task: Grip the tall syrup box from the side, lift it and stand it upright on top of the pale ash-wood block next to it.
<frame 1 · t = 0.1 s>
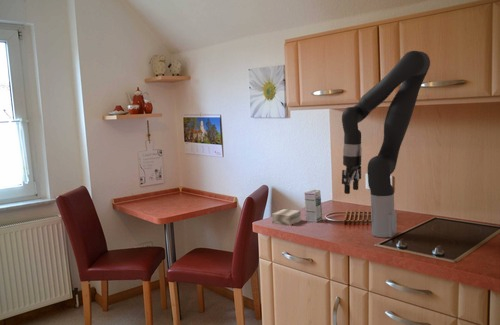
hand: (351, 191, 191), 17 cm above the worktop, tool pointing down, fingers open, 8 cm apart
syrup box: (314, 220, 214), on the worktop
ash block: (286, 222, 215), on the worktop
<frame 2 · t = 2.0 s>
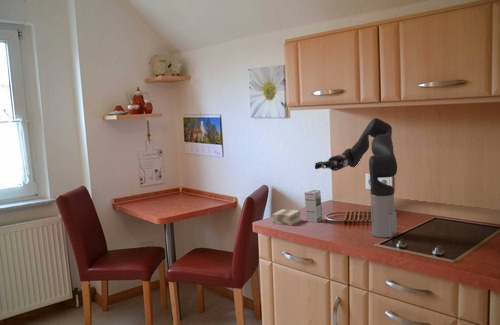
hand: (323, 167, 220), 24 cm above the worktop, tool horizontal, fingers open, 8 cm apart
nothing on the worktop moved.
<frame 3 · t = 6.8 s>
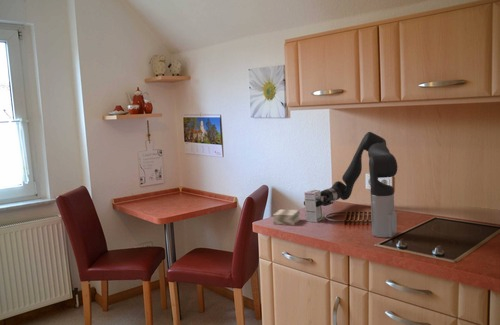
hand: (310, 204, 211), 9 cm above the worktop, tool horizontal, fingers closed on syrup box, 6 cm apart
syrup box: (314, 220, 214), on the worktop, touching gripper
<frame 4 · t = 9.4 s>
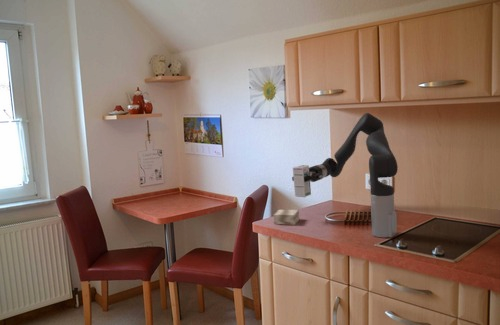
hand: (299, 179, 210), 21 cm above the worktop, tool horizontal, fingers closed on syrup box, 6 cm apart
syrup box: (302, 196, 213), point 12 cm above the worktop, touching gripper
when the fingers open (15 cm above the worktop, at t = 11.9 s): syrup box drops 1 cm, point 4 cm above the worktop.
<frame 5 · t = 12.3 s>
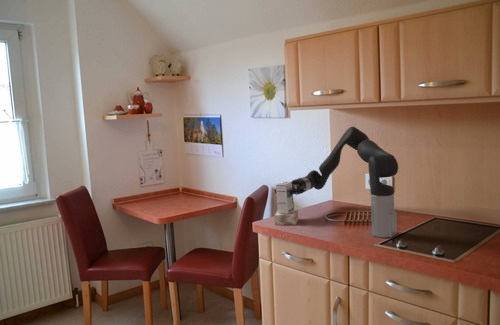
hand: (282, 192, 211), 15 cm above the worktop, tool horizontal, fingers open, 8 cm apart
syrup box: (286, 212, 214), point 4 cm above the worktop
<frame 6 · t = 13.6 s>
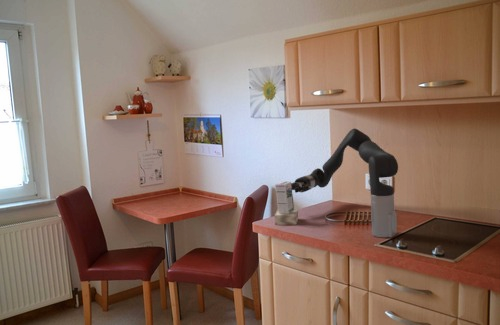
hand: (288, 189, 215), 15 cm above the worktop, tool horizontal, fingers open, 8 cm apart
syrup box: (286, 212, 214), point 5 cm above the worktop, touching ash block
ash block: (286, 222, 215), on the worktop, touching syrup box
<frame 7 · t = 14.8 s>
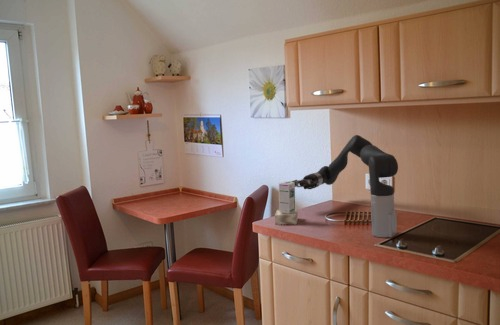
hand: (296, 186, 222), 15 cm above the worktop, tool horizontal, fingers open, 8 cm apart
syrup box: (286, 212, 214), point 5 cm above the worktop
ash block: (286, 222, 215), on the worktop
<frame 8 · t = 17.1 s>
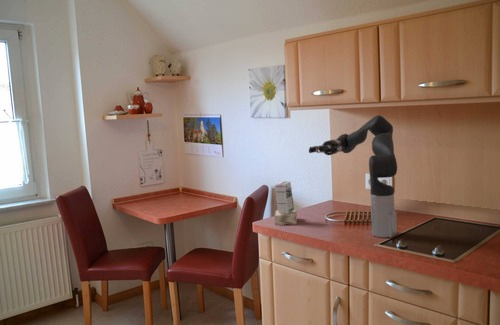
hand: (317, 151, 221), 32 cm above the worktop, tool horizontal, fingers open, 8 cm apart
at the end: syrup box 0.4 cm off-centre on the ash block, point 5.1 cm above the ash block's base; syrup box tilted 5°; the gripper is holding nothing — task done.
